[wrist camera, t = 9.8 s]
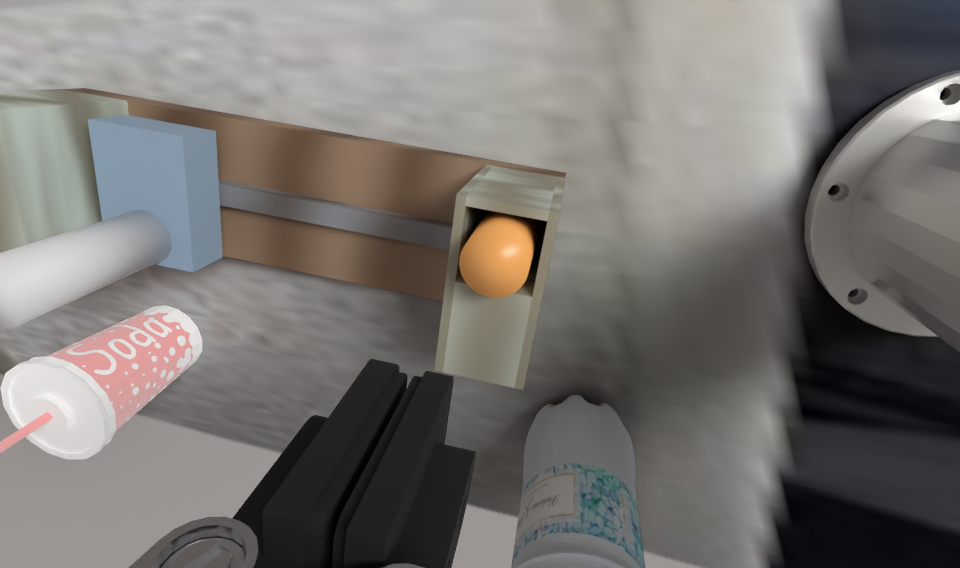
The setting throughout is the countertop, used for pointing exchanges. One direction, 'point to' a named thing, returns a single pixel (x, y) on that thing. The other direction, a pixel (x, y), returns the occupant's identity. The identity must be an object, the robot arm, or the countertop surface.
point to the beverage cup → (97, 382)
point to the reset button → (498, 254)
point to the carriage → (124, 218)
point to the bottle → (578, 491)
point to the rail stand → (308, 210)
